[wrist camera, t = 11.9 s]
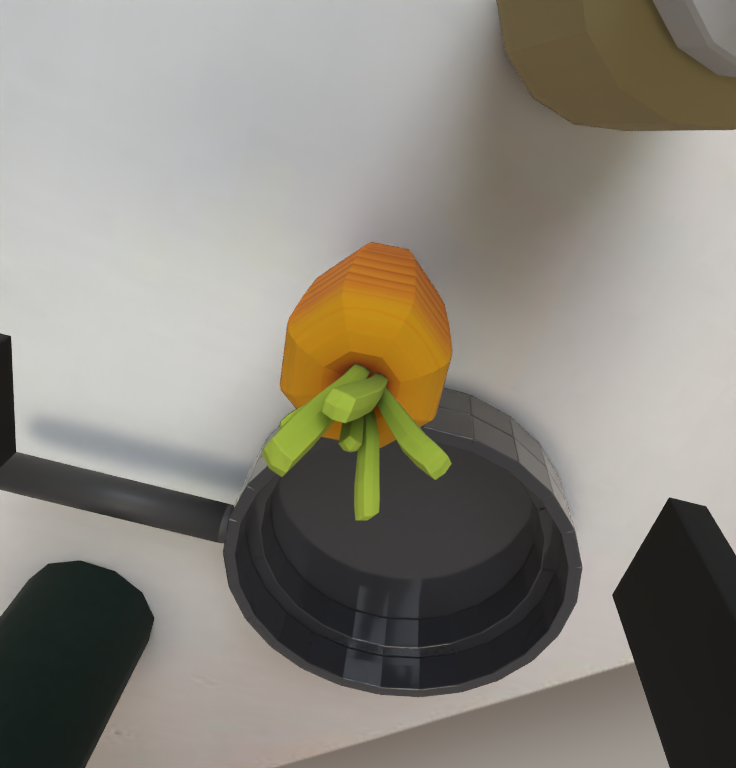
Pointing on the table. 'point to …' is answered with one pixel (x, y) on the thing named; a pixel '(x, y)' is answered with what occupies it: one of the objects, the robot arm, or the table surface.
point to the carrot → (365, 367)
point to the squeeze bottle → (627, 60)
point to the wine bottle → (66, 662)
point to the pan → (409, 559)
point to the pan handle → (115, 497)
